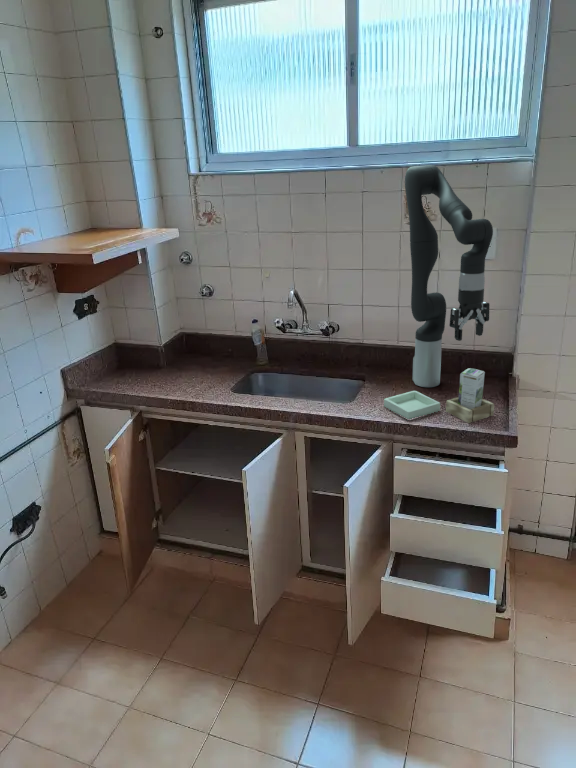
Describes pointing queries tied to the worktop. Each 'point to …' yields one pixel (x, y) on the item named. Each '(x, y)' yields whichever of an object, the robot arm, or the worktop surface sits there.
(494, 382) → the worktop surface
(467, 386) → the syrup box
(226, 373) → the worktop surface
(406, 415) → the tray
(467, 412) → the collar
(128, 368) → the worktop surface
